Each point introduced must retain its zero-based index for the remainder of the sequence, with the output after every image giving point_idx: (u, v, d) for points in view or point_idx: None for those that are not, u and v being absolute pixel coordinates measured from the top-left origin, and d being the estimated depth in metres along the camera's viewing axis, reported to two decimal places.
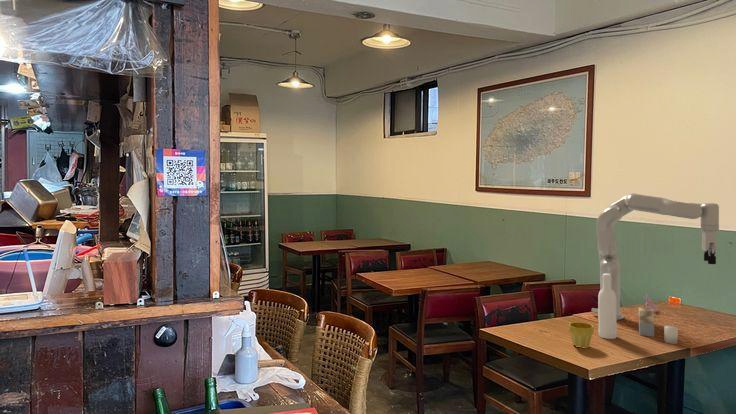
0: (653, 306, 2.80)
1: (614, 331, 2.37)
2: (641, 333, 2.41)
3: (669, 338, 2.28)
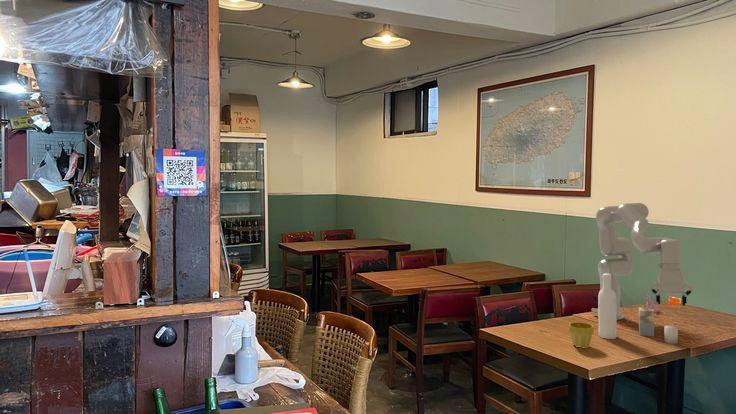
0: (654, 306, 2.80)
1: (614, 331, 2.37)
2: (641, 333, 2.41)
3: (669, 338, 2.28)
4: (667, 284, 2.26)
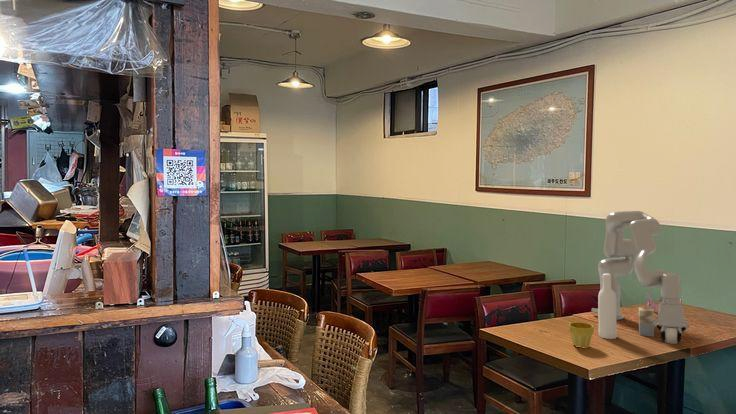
0: (654, 306, 2.80)
1: (614, 331, 2.37)
2: (641, 333, 2.41)
3: (669, 338, 2.28)
4: (667, 318, 2.27)
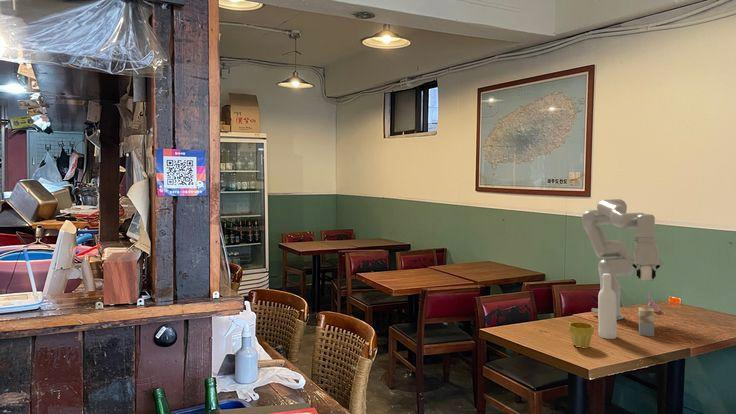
0: (655, 306, 2.80)
1: (614, 331, 2.37)
2: (641, 333, 2.41)
3: (644, 276, 2.39)
4: (642, 257, 2.39)
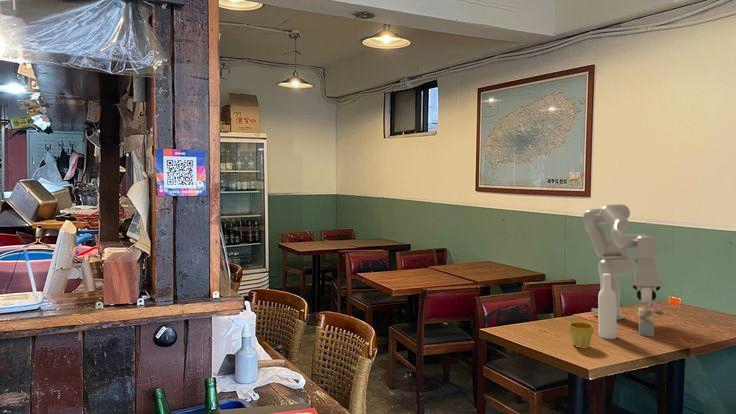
0: (656, 306, 2.80)
1: (614, 331, 2.37)
2: (641, 333, 2.41)
3: (645, 297, 2.39)
4: (642, 278, 2.39)
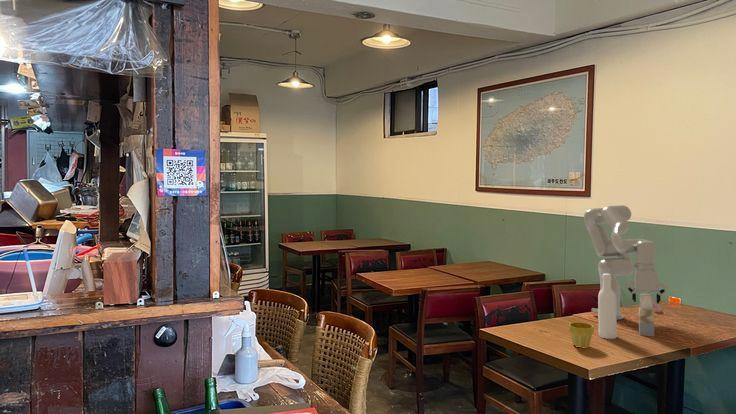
0: (656, 306, 2.80)
1: (614, 331, 2.37)
2: (641, 333, 2.41)
3: (645, 305, 2.40)
4: (642, 283, 2.39)
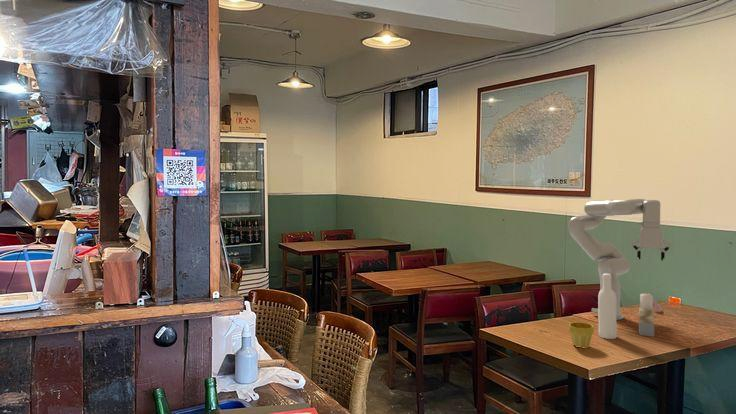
0: (657, 306, 2.80)
1: (614, 331, 2.37)
2: (641, 333, 2.41)
3: (645, 305, 2.40)
4: (647, 241, 2.48)
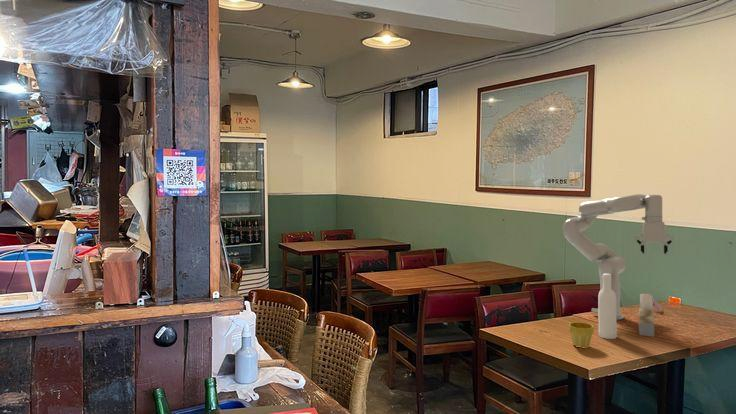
0: (658, 306, 2.80)
1: (614, 331, 2.37)
2: (641, 333, 2.41)
3: (645, 305, 2.40)
4: (650, 235, 2.52)
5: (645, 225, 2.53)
